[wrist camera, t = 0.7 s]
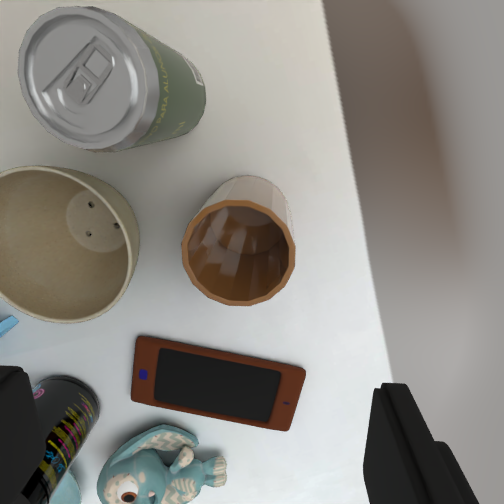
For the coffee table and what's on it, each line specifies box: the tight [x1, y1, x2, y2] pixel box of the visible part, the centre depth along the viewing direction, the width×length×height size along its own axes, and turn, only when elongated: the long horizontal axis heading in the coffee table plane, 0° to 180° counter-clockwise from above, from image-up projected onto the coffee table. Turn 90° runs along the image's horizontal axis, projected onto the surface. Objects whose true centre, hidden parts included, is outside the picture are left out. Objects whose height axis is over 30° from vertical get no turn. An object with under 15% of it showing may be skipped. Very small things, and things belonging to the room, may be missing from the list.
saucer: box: [50, 469, 81, 504], centre depth 38 cm, size 12×12×2 cm
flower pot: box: [0, 166, 140, 324], centre depth 25 cm, size 10×10×7 cm
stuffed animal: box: [97, 424, 227, 504], centre depth 34 cm, size 11×7×12 cm
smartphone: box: [131, 336, 306, 431], centre depth 33 cm, size 7×1×15 cm
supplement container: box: [13, 377, 100, 504], centre depth 30 cm, size 7×7×10 cm
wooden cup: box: [181, 176, 296, 306], centre depth 24 cm, size 6×6×8 cm
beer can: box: [18, 6, 206, 152], centre depth 19 cm, size 5×5×12 cm
